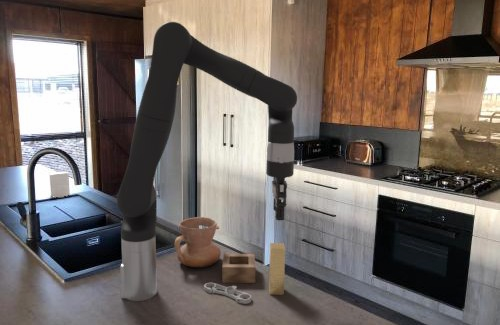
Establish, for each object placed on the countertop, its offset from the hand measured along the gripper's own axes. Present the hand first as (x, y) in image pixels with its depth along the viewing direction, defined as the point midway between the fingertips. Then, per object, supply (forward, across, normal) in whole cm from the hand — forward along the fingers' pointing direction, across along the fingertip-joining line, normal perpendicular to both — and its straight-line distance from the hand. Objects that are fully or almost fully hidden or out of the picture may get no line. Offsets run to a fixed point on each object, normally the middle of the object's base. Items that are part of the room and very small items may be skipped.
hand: (278, 215), depth 115 cm
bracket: (+24, +2, -14) cm, 28 cm away
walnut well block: (+23, -10, -11) cm, 28 cm away
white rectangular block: (+23, -101, -106) cm, 149 cm away
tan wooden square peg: (+23, 0, 0) cm, 23 cm away
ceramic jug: (+23, -19, -25) cm, 39 cm away
